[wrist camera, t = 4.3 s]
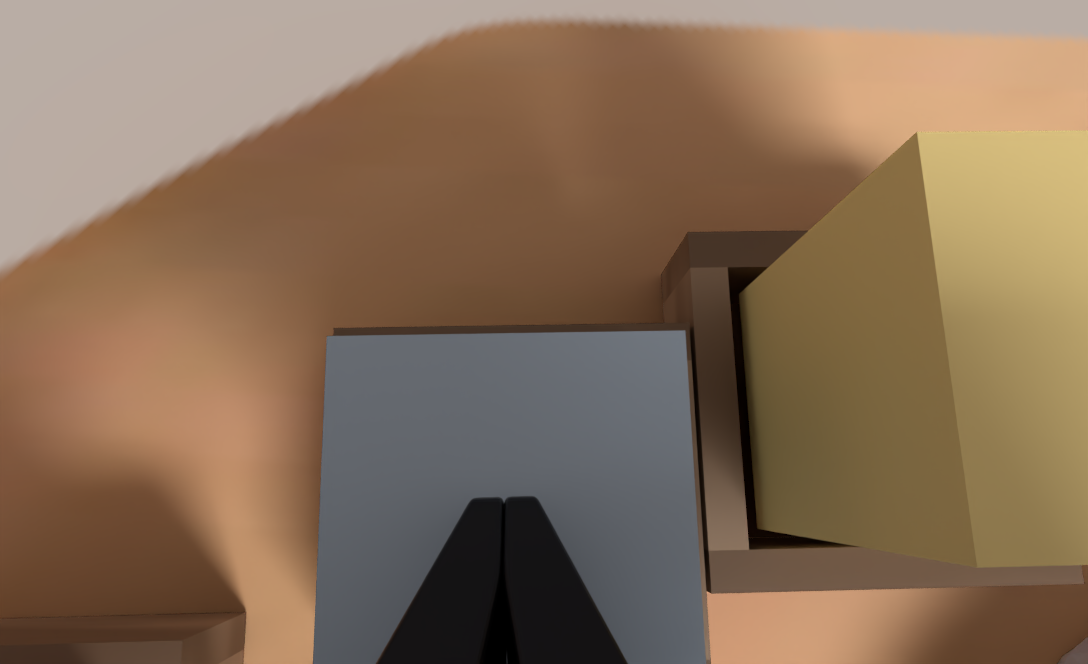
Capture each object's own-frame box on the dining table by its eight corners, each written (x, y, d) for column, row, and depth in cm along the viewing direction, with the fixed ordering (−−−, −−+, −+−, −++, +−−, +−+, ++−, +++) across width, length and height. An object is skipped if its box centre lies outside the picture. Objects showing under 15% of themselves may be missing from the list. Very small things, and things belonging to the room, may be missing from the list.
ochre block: (995, 523, 15) (1435, 557, 8) (757, 528, 15) (977, 567, 8) (962, 291, 16) (1320, 129, 9) (739, 293, 16) (916, 131, 9)
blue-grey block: (628, 615, 17) (709, 717, 9) (406, 621, 16) (310, 729, 9) (619, 396, 18) (684, 330, 10) (410, 399, 17) (327, 336, 10)
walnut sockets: (1038, 951, 16) (1164, 1065, 13) (-137, 998, 15) (-309, 1131, 12) (942, 270, 19) (1025, 228, 16) (-31, 283, 18) (-145, 242, 15)
